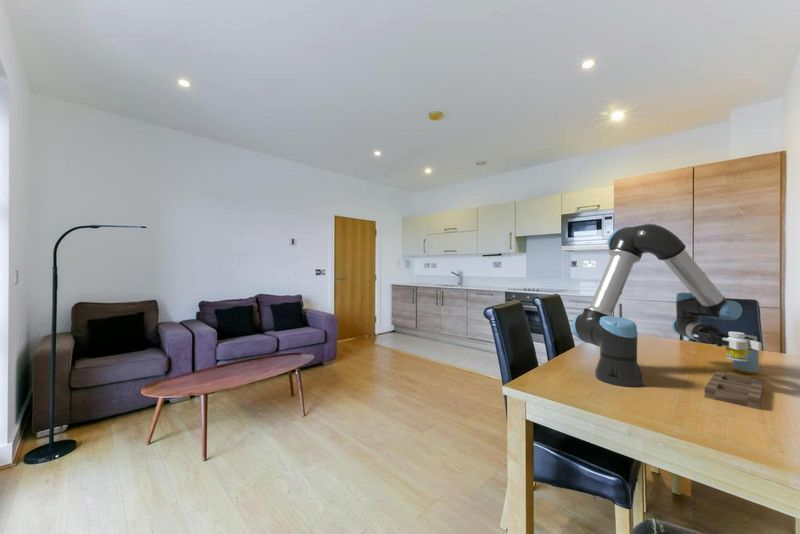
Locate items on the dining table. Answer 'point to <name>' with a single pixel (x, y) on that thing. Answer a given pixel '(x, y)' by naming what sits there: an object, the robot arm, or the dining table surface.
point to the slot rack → (735, 389)
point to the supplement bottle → (743, 347)
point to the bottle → (751, 364)
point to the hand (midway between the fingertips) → (748, 346)
